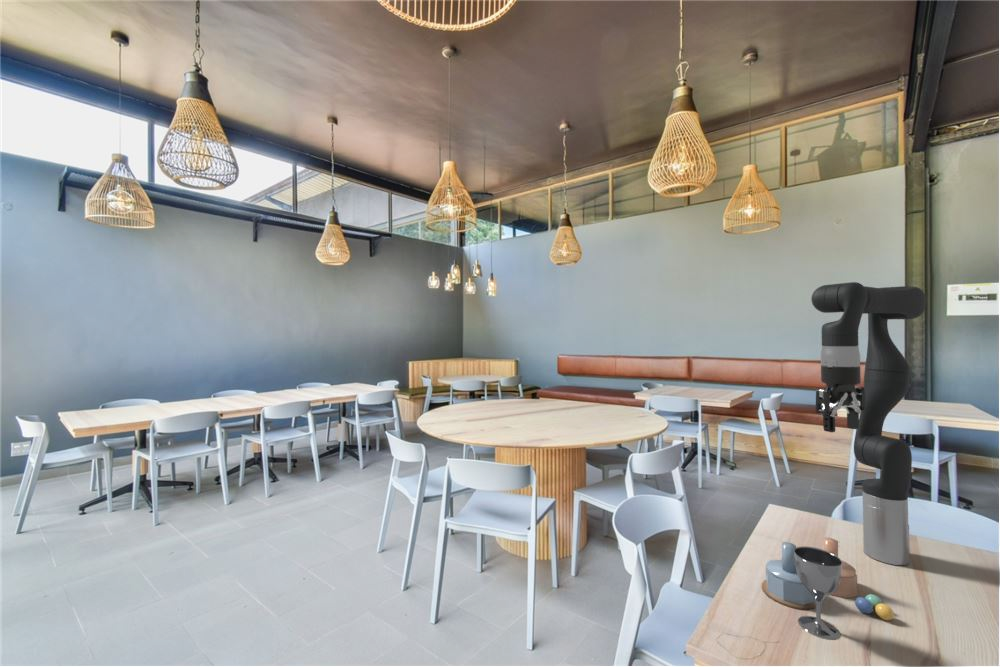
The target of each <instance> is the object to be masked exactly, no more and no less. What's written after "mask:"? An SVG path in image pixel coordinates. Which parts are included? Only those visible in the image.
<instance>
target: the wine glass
mask: <svg viewBox="0 0 1000 667" xmlns="http://www.w3.org/2000/svg"><path fill="white" fill-rule="evenodd" d="M794 556H795V566H796V571H797V574H798V577H799V579H800V581H801V582H802V583H803V585H804V586H805V587H806V588H807V589H808V590H809V592H810V593H811V594H812V596H813V598H814V601H815V606H816V608H815V614H816V615H815V616H813V615H801V616H799V618H798V619H797V622H798V625H799V626H800V627H801V628H802V629H803V630H804V631H805V632H808V633H809V634H810V635H812V636H815V637H817V638H820V639H824V640H839V638H841V636H842V635H841V631H840V630H839V629H838V628H837V626H835V625H834V624H832V623H831V622H829V621H827V620H826V619H824V618H822V606H823V602H824V600H825V599H826V598H827V597H828V596H832V595H831V594H832V593H834V592H835V591H836V590H837V589H838V587H839V585H840V582H841V576H842V561H843V560H842V559H840V557H839V556H838V557H837V556H836V555H834V554H832V553H830V552H828V551H825V550H824V549H822V548H817V547H814V546H813V547H812V546H796V548H795V552H794ZM841 560H842V561H841Z"/></svg>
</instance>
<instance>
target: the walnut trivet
mask: <svg viewBox="0 0 1000 667" xmlns="http://www.w3.org/2000/svg"><path fill="white" fill-rule="evenodd" d="M761 590H762V592H763V593H764V594H765V595H766V597H768V598H770V599H771V600H773V601H774V602H776V603H778V604H781V605H783V606H785V607H788V608H791V609H796V610H803V611H805V610H807V611H809V610H814V609H816V606H815V602H812V603H809V604H805V605H801V604H796V603H792V602H788V601H783V600H782V599H780V598H779V597H777V596H775V595H774V594H772V593H771V592H769V591H768V588H767V584H766V579H764V580H763V581H762V583H761Z"/></svg>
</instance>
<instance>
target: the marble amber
mask: <svg viewBox="0 0 1000 667" xmlns="http://www.w3.org/2000/svg"><path fill="white" fill-rule="evenodd" d="M874 611H875V613H876V615H877V616H878V617H879V618H881V619H882V620H886V621H891V620H892V619H894V617H895V613H894V610H893V609H892V608H891V607H890V606H889V605H887V604H885V603H883V604H877V605H876V606H875V610H874Z"/></svg>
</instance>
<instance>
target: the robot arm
mask: <svg viewBox="0 0 1000 667" xmlns="http://www.w3.org/2000/svg"><path fill="white" fill-rule="evenodd" d="M811 304H812V306H813V308H814V309H815V310H817V311H819V312H821V313H823V314H824V313H826V314H827V313H828V314H829V313H831V314H832V313H833V314H834V313H843V314H842V315H841V317H840V318H839V319H838V320H835V321H834V320H833V321H829V322H825V323H824V324H823V325H821V350H820V381H821V382H822V383H824V384H825V385H826V386H825V388H816V390H815V413H816V414H819V415H821V416H822V423H823V424H822V427H823V431H824V432H828V433H835V432H836V417H835V415H836V413H837V411H839V410H840V409H841V408H842V407H844V409H845V410H846V412H847V413H846V426H847V429H851V430H856V431H855V436H854V441H853V455H854V457H855V459H856V460H857V461H858V462H859V464H862V465H864V466H868V467H872V468H875V469H878V470H880V477H879V478H867V479H864V480H863V481H862V484H861V486H862V488H861V489H862V490H861V491H862V492H861V493H862V534H863V535H862V542H863V545H862V546H863V553H864V554H865V555H867V556H868V557H869V558H871V559H874V560H876V561H878V562H882V563H885V564H887V565H894V566H895V565H896V566H906V565H909V564H910V559H911V557H910V555H911V554H910V524H909V500H908V499H909V498H908V497H909V496H908V495H909V491H910V489H911V483H912V482H911V480H912V464H913V457H912V454H913V453H912V451H911V448H910V446H909V444H908V443H907V442H906V441H904V440H901V439H900V438H895V437H890V436H886V435H882V434H883V429H884V428H883V427H884V423H885V420H886V418H887V416H888V415H889V413H890V412H891V411H892V410H893V409H894V408H895V407H896V406H897V405H898V404H899V403H900V402H901V401H902V399H904V397H905V396H906V394H907V393H908V390H909V382H910V373H911V372H910V370H911V369H910V365H909V363H908V361H907V360H906V358H905V357H904V355H903V353H901V351H900V350H899V349H898V347H897V345H896V344H895V343H894V342H893V340H892V338H891V336H890V333H889V328H888V320H913V319H917V318H919V317H920V316H922V315H923V314H924V312H925V310H926V307H927V297H926V294H925V292H924V290H923V289H921V288H919V287H917V286H911V285H907V286H905V285H904V286H902V285H901V286H889V287H887V286H885V287H873V286H865V285H863V284H861V283H859V282H857V281H853V282H843V283H841V282H840V283H834V284H833V283H832V284H823V285H821V286H819V287H817V288H816V289H815V290H814V291H813V292H812V295H811ZM864 314H865V315H867V321H868V322H867V327H868V328H867V330H868V331H867V332H868V333H867V336H868V337H867V348H866V350H867V351H866V359H865V366H864V373H863V374H864V375H863V386H857V385H860V384H862V383H861V380H862V378H861V354H860V349H859V348H860V347H859V328H860V323H861V320H862V317H863V315H864ZM822 406H823V407H822ZM830 409H831V410H830Z"/></svg>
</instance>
